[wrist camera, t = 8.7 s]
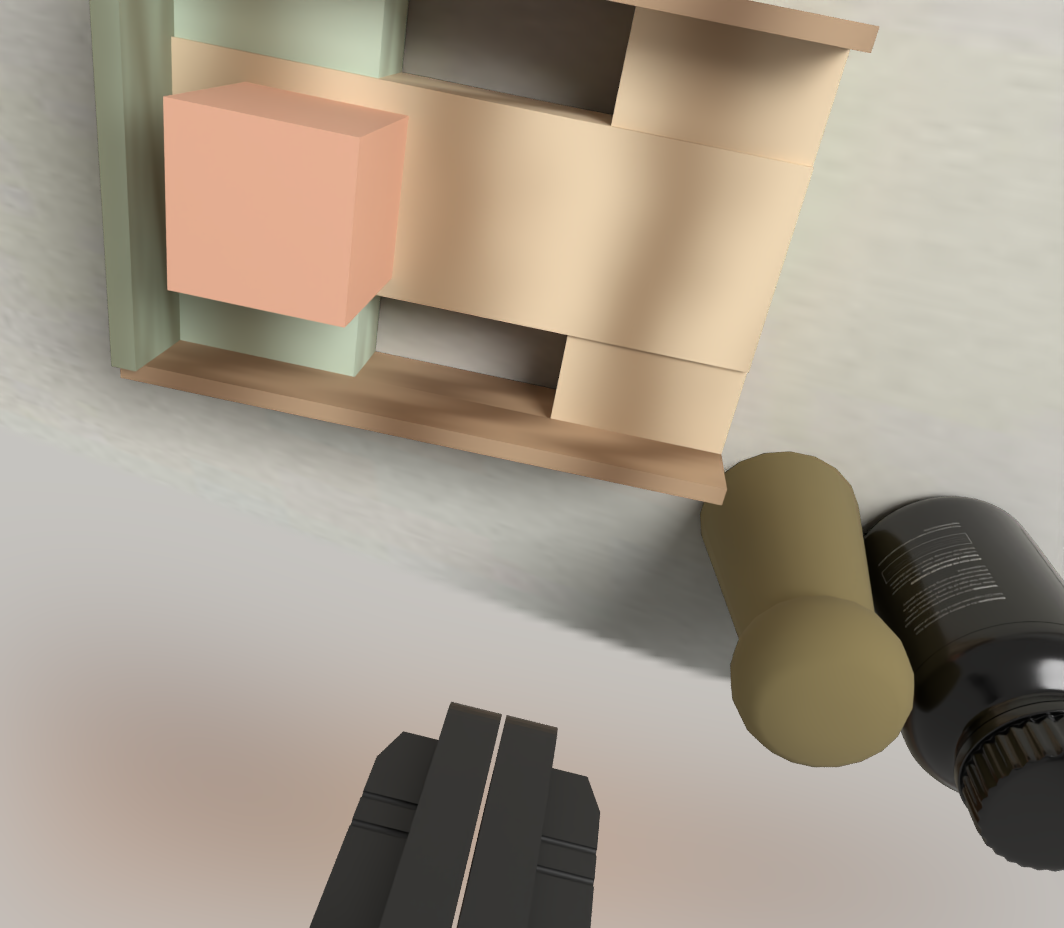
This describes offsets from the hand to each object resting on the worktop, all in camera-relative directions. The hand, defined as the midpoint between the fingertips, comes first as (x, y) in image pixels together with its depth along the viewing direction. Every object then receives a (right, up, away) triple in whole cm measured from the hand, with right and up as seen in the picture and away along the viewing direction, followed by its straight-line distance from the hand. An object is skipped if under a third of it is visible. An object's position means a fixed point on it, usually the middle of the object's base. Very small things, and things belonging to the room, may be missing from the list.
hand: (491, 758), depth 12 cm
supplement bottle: (+16, 0, +22) cm, 28 cm away
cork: (+10, +2, +22) cm, 25 cm away
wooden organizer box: (-1, +13, +18) cm, 22 cm away
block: (-6, +13, +15) cm, 21 cm away
